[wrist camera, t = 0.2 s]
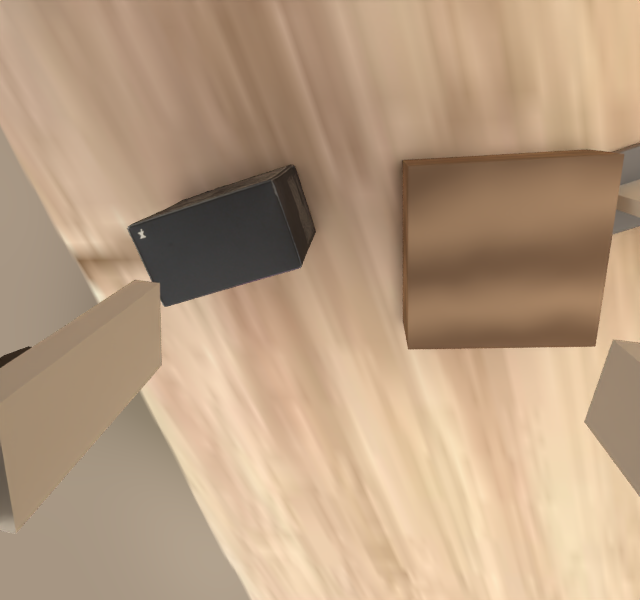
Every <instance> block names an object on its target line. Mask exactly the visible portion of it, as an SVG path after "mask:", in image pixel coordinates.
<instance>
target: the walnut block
mask: <svg viewBox="0 0 640 600" xmlns="http://www.w3.org/2000/svg"><path fill="white" fill-rule="evenodd" d="M623 161H624V154H621V153H612V152H604V151H595V150H571V151H554V152H537V153H519V154H502V155H485V156H468V157H451V158H433V159H416V160H403V324H404V329H405V335H406V340H407V346H408V349H462V348H527V347H591V346H595V345H596V339H597V332H598V325H599V319H600V312H601V306H602V299H603V293H604V286H605V279H606V273H607V266H608V260H609V253H610V247H611V240H612V233H613V227H614V220H615V214H616V207H617V200H618V194H619V187H620V181H621V174H622V168H623Z"/></svg>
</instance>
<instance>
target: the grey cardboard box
mask: <svg viewBox="0 0 640 600" xmlns="http://www.w3.org/2000/svg"><path fill="white" fill-rule="evenodd" d="M612 153H621V154H624V161H623V168H622V174H621V181H620V187H619V194H618V200H617V207H616V214H615V220H614V227H613V233H612V234H615V233H619V232H622V231H625V230H629V229H632V228H635V227H639V226H640V143H638V144H635V145H632V146H629V147H626V148H623V149H620V150H617V151H614V152H612Z"/></svg>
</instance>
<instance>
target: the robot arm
mask: <svg viewBox="0 0 640 600" xmlns="http://www.w3.org/2000/svg"><path fill="white" fill-rule="evenodd" d="M161 365H162V356H161V313H160V283H156V282H148V281H140V280H134V281H132V282H131V283H129V284H128V285H126V286H125V287H123V288H122V289H120V290H119V291H117V292H116V293H114V294H112V295H111V296H109V297H108V298H106V299H105V300H103V301H102V302H100V303H99V304H97V305H96V306H94V307H93V308H91V309H90V310H88V311H87V312H85V313H84V314H82V315H81V316H79V317H78V318H76V319H74V320H73V321H71V322H70V323H68V324H67V325H65V326H64V327H62V328H61V329H59V330H58V331H56V332H55V333H53V334H52V335H50V336H49V337H47V338H46V339H44V340H42V341H41V342H39V343H38V344H36V345H35V346H33V347H26V348H23V349H20V350H18V351H15V352H12V353H9V354H7V355H4V356H2V357H1V358H0V531H3V532H10V533H17V532H18V531H19V530H20V529H21V527H22V526H23V525H24V524H25V523H26V522H27V520H28V519H29V518H30V517H31V516H32V515H33V514H34V512H35V511H36V510H37V509H38V507H40V505H41V504H42V503H43V502H44V501H45V500H46V498H47V497H48V496H49V495H50V494H51V493H52V491H53V490H54V489H55V488H56V487H57V486H58V485H59V483H60V482H61V481H62V480H63V479H64V478H65V476H66V475H67V474H68V473H69V472H70V471H71V469H72V468H73V467H74V466H75V465H76V464H77V463H78V461H79V460H80V459H81V458H82V457H83V456H84V455H85V453H86V452H87V451H88V450H89V449H90V448H91V446H92V445H93V444H94V443H95V442H96V441H97V439H98V438H99V437H100V436H101V435H102V434H103V432H104V431H105V430H106V429H107V428H108V427H109V425H110V424H111V423H112V422H113V421H114V420H115V419H116V417H117V416H118V415H119V414H120V413H121V412H122V410H123V409H124V408H125V407H126V406H127V405H128V403H129V402H130V401H131V400H132V399H133V398H134V397H135V395H136V394H137V393H138V392H139V391H140V390H141V389H142V387H143V386H144V385H145V384H146V383H147V382H148V380H149V379H150V378H151V377H152V376H153V375H154V373H155V372H156V371H157V370H158V369H159V368H160V367H161ZM584 422H585V423H586V425H587V426H588V427H589V429H590V430H591V431H592V433H593V434H594V436H595V437H596V438H597V440H598V441H599V442H600V444H601V445H602V446H603V448H604V449H605V450H606V452H607V453H608V454H609V456H610V457H611V459H612V460H613V461H614V463H615V464H616V465H617V467H618V468H619V469H620V471H621V472H622V473H623V475H624V476H625V477H626V479H627V480H628V482H629V483H630V484H631V486H632V487H633V488H634V490H635V491H636V492H637V494H638V495H639V496H640V343H638V342H630V341H622V340H613V341H612V344H611V347H610V350H609V352H608V355H607V358H606V361H605V364H604V367H603V370H602V373H601V375H600V378H599V381H598V384H597V387H596V390H595V393H594V396H593V398H592V401H591V404H590V407H589V410H588V413H587V416H586V418H585V421H584Z"/></svg>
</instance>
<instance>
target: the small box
mask: <svg viewBox="0 0 640 600" xmlns="http://www.w3.org/2000/svg"><path fill="white" fill-rule="evenodd" d="M128 232H129V234H130V236H131V238H132V240H133V242H134V244H135V246H136V248H137V251H138V253H139V255H140V257H141V259H142V261H143V263H144V266H145V268H146V270H147V272H148V274H149V276H150V279H151V281H152V282H156V283H160V300H161V302H162V304H163V306H164V307H167V306H171V305H174V304H178V303H181V302H184V301H188V300H191V299H195V298H198V297H201V296H205V295H208V294H212V293H215V292H218V291H222V290H225V289H229V288H232V287H236V286H239V285H243V284H246V283H250V282H253V281H257V280H260V279H264V278H267V277H271V276H274V275H278V274H281V273H285V272H288V271H292V270H295V269H299V268H301V267H302V264H303V261H304V259H305V256H306V254H307V251H308V249H309V247H310V244H311V242H312V239H313V237H314V235H315V233H316V231H315V227H314V224H313V221H312V218H311V214H310V211H309V208H308V205H307V202H306V199H305V196H304V192H303V190H302V187H301V183H300V180H299V177H298V174H297V171H296V168H295V166H294V165H289V166H286V167H282V168H279V169H276V170H273V171H270V172H267V173H264V174H261V175H258V176H254V177H251V178H248V179H245V180H242V181H239V182H236V183H233V184H230V185H226V186H223V187H220V188H217V189H215V190H211V191H207V192H205V193H202V194H200V195H197V196H194V197H191V198H189V199H185V200H182V201H180V202H178V203H177V204H175V205H173V206H171V207H169V208H167V209H165V210H163V211H161V212H158V213H156V214H154V215H151V216H149V217H147V218H145V219H142V220H140V221H138V222H136V223H133V224H131V225H130V226H128Z"/></svg>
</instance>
